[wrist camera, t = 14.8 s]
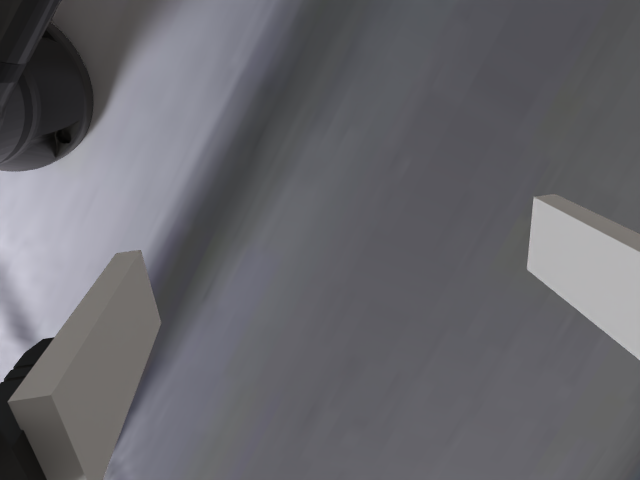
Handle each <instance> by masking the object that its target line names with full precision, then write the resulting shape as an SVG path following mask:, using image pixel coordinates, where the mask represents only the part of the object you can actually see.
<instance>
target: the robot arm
mask: <svg viewBox="0 0 640 480" xmlns="http://www.w3.org/2000/svg"><path fill="white" fill-rule="evenodd" d="M60 1H61V0H0V170H1V171H27V170H33V169H38V168H41V167H44V166H47V165H49V164H51V163H53V162H55V161H57V160H59V159H61V158H63V157H64V156H66V155H67V154H69V153H70V152H71V151H72V150H74V149H75V148H76V147H77V145H78V144H79V143H80V142H81V141H82V139H83V137H84V136H85V134H86V132H87V130H88V128H89V125H90V122H91V118H92V112H93V92H92V86H91V82H90V78H89V75H88V72H87V70H86V67H85V65H84V63H83V61H82V59H81V57H80V55H79V54H78V52H77V51H76V49H75V48H74V46H73V45H72V44H71V42H70V41H69V40H68V39H67V38H66V36H65V35H64V34H63V33H62V32H61V31H60V30H59V29H58V28H57V27H55V26H54V25H53V24H52V23H51V22H50V21H51V19H52V17H53V15H54V13H55V11H56V9H57V7H58V5H59V3H60ZM527 270H529V271H530V272H531V273H532V274H534V275H535V276H536V277H537V278H539V279H540V280H541V281H542V282H544V283H545V284H546V285H547V286H548V287H550V288H551V289H552V290H553V291H555V292H556V293H557V294H558V295H560V296H561V297H562V298H563V299H565V300H566V301H567V302H568V303H570V304H571V305H572V306H573V307H575V308H576V309H577V310H578V311H579V312H581V313H582V314H583V315H584V316H586V317H587V318H588V319H589V320H591V321H592V322H593V323H594V324H596V325H597V326H598V327H599V328H601V329H602V330H603V331H604V332H606V333H607V334H608V335H609V336H611V337H612V338H613V339H614V340H615V341H617V342H618V343H619V344H620V345H622V346H623V347H624V348H625V349H627V350H628V351H629V352H630V353H632V354H633V355H634V356H635V357H637V358H638V359H639V360H640V234H639V233H636V232H634V231H632V230H630V229H628V228H626V227H624V226H622V225H619V224H617V223H615V222H613V221H611V220H609V219H607V218H605V217H603V216H600V215H598V214H596V213H594V212H592V211H590V210H588V209H586V208H584V207H581V206H579V205H577V204H575V203H573V202H571V201H569V200H567V199H565V198H562V197H560V196H558V195H556V194H552V195H545V196H537V197H534V200H533V211H532V222H531V232H530V243H529V254H528V264H527ZM160 325H161V321H160V317H159V313H158V310H157V306H156V303H155V299H154V296H153V292H152V288H151V285H150V281H149V278H148V274H147V270H146V267H145V263H144V260H143V256H142V252H141V250H137V251H130V252H122V253H116V254H115V256H114V257H113V258H112V260H111V261H110V263H109V264H108V265H107V267H106V268H105V269H104V271H103V272H102V273H101V275H100V276H99V278H98V279H97V280H96V282H95V283H94V284H93V286H92V287H91V288H90V290H89V291H88V293H87V294H86V295H85V297H84V298H83V299H82V301H81V302H80V304H79V305H78V306H77V308H76V309H75V310H74V312H73V313H72V314H71V316H70V317H69V319H68V320H67V321H66V323H65V324H64V325H63V327H62V328H61V329H60V331H59V332H58V334H57V335H56V336H55V337H53V338H47V339H43V340H41V341H40V342H39V343H37V344H36V345H34V346H33V347H32V348H30V349H29V350H28V351H26V352H25V353H24V354H23V356H22V357H21V358H20V359H19V361H18V362H17V363H16V364H15V366H14V369H13V370H11V371H10V372H9V373H8V375H7V376H6V377H5V378H4V382H1V383H0V480H103V477H104V475H105V472H106V469H107V467H108V464H109V461H110V459H111V456H112V453H113V451H114V448H115V445H116V442H117V440H118V437H119V434H120V432H121V429H122V426H123V424H124V421H125V418H126V416H127V413H128V410H129V408H130V405H131V402H132V400H133V397H134V394H135V392H136V389H137V386H138V384H139V381H140V378H141V376H142V373H143V370H144V368H145V365H146V362H147V360H148V357H149V354H150V352H151V349H152V346H153V344H154V341H155V338H156V336H157V333H158V330H159V327H160Z"/></svg>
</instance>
